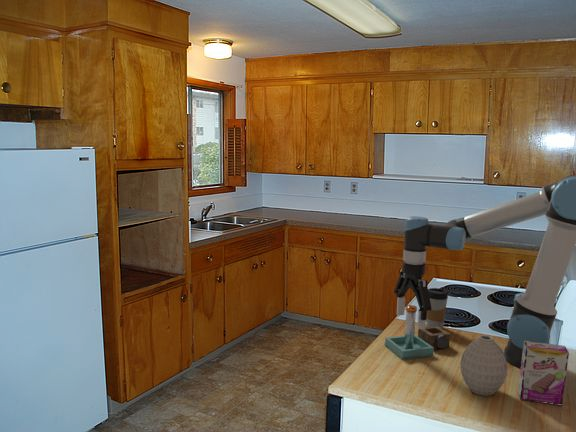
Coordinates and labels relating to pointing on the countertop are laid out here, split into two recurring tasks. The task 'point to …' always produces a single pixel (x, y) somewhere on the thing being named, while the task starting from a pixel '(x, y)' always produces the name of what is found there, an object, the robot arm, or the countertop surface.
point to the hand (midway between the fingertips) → (410, 321)
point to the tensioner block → (435, 336)
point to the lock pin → (410, 326)
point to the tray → (417, 352)
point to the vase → (484, 366)
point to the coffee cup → (437, 307)
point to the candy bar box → (543, 372)
